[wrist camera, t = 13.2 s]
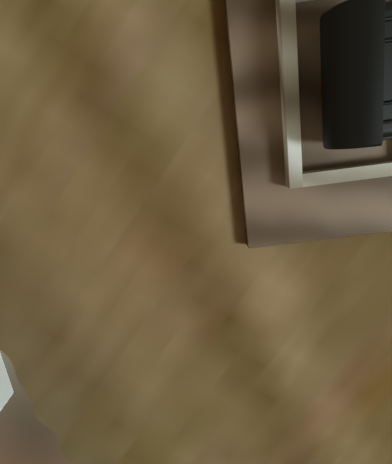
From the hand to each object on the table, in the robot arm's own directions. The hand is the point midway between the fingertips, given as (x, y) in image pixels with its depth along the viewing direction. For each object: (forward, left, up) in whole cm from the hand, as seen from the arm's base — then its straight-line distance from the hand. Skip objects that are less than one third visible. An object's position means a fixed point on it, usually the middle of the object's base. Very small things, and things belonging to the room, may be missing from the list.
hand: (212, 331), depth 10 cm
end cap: (-8, +14, -24) cm, 29 cm away
